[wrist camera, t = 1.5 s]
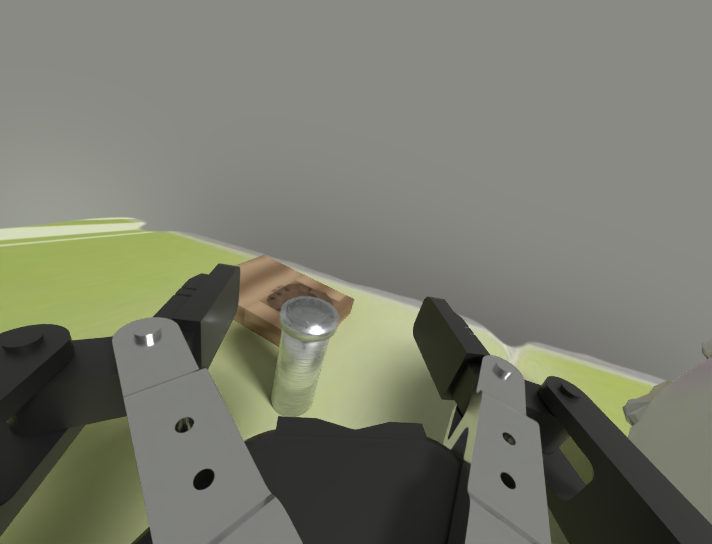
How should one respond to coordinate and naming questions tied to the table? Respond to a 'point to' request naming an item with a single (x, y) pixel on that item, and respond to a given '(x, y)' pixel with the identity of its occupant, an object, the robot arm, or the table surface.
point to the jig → (278, 295)
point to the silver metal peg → (301, 352)
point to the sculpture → (679, 431)
